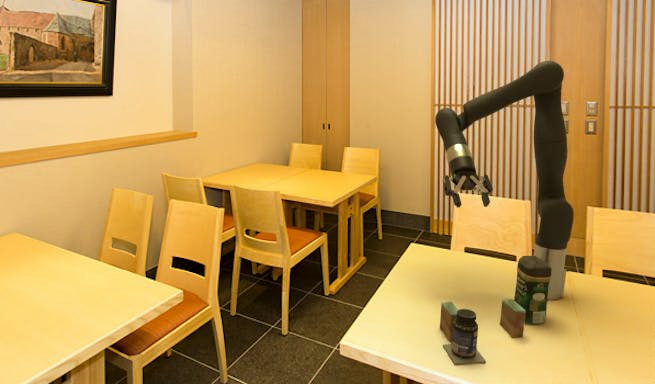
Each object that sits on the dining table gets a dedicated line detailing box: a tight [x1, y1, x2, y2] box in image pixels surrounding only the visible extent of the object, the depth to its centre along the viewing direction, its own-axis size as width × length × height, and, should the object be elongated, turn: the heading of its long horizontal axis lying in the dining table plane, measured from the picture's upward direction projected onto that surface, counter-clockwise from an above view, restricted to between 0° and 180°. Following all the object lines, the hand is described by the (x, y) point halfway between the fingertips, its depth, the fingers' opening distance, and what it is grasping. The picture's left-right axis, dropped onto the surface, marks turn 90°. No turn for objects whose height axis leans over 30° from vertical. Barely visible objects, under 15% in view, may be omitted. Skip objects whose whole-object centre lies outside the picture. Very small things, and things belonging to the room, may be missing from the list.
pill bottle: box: [451, 308, 479, 358], centre depth 109 cm, size 6×6×11 cm
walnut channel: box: [439, 298, 526, 343], centre depth 120 cm, size 21×7×8 cm, turn 96°
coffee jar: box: [513, 255, 552, 325], centre depth 127 cm, size 10×8×19 cm
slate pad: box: [442, 343, 487, 366], centre depth 110 cm, size 8×8×1 cm
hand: (473, 205), depth 128 cm, fingers open, 8 cm apart
